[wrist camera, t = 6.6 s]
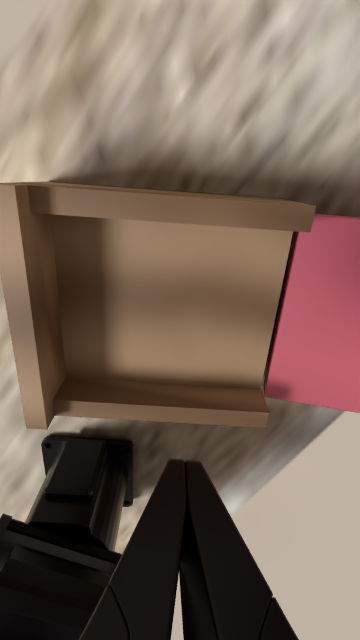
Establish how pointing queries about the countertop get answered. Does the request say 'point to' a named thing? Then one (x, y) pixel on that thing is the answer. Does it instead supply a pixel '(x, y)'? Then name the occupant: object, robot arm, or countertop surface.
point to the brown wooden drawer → (143, 300)
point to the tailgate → (319, 319)
